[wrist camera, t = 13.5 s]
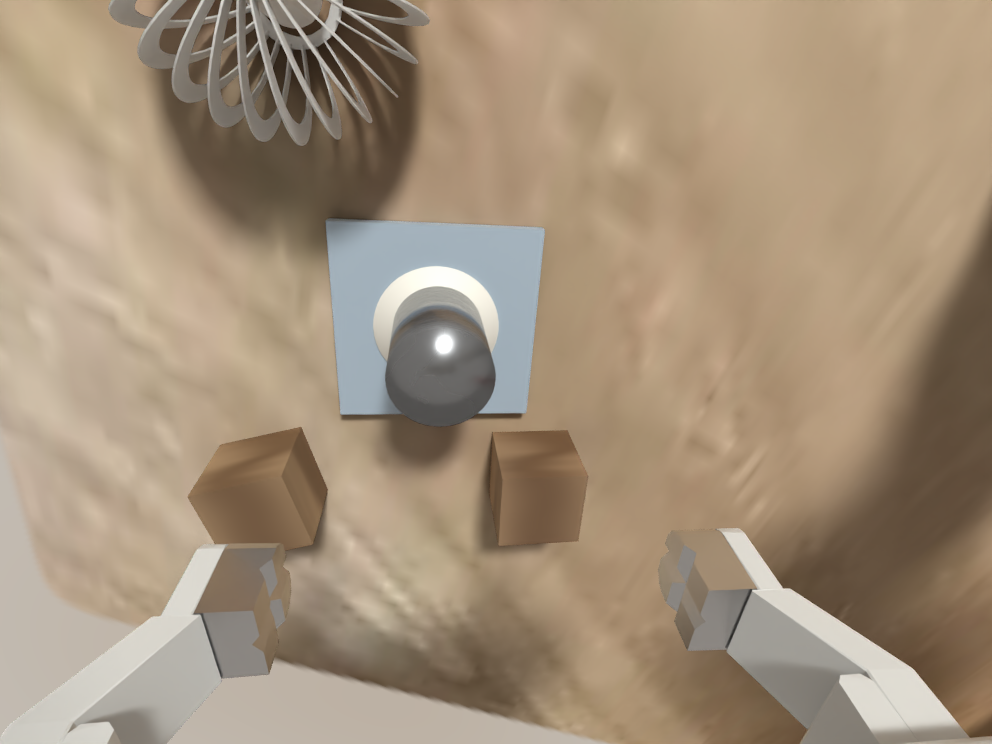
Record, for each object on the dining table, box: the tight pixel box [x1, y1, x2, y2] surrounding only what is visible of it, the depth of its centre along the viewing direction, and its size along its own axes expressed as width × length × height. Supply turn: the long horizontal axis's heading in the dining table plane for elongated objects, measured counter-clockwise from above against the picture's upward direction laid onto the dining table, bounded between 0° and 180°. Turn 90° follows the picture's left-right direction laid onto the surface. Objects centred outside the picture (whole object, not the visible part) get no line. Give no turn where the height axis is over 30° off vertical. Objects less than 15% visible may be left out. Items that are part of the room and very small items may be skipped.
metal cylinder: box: [385, 286, 496, 427], centre depth 21 cm, size 4×4×5 cm
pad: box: [326, 218, 545, 415], centre depth 24 cm, size 9×9×1 cm
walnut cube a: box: [489, 430, 588, 546], centre depth 26 cm, size 4×4×4 cm
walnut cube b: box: [188, 427, 328, 551], centre depth 25 cm, size 4×4×4 cm
